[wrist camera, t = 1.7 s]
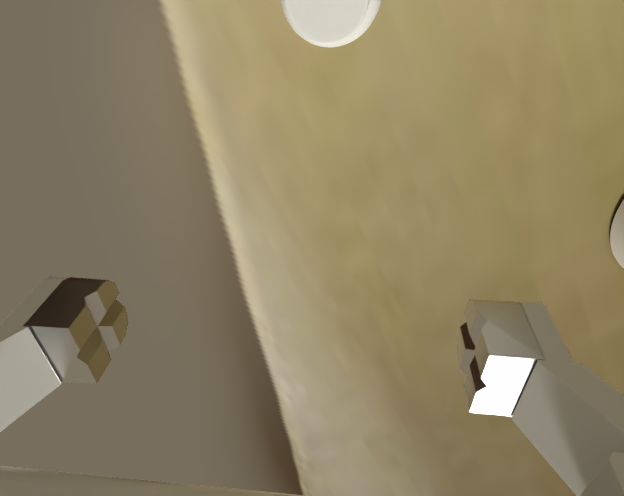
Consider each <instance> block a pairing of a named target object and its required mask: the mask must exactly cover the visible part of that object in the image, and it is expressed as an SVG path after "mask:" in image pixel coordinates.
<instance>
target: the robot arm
mask: <svg viewBox="0 0 624 496" xmlns="http://www.w3.org/2000/svg"><path fill="white" fill-rule="evenodd" d="M610 243H611V249H612V252H613V254H614V257H615V258H616V260H617V262H618V263H619V264H620V265H621V266H622V267H623V268H624V200H623V201H622V203H621V205H620V206H619V208H618V210H617V212H616V214H615V217H614V220H613V223H612V227H611V233H610ZM118 294H119V291H118V289H117V287H116V284H115V282H112V281H109V280H101V279H88V278H75V277H69V278H68V277H57V276H49V277H46V278H44V279H42V280H41V281H40V282H39V284H38V285H37V286H36V287H35V288H34V289H33V290H32V291H31V292H30V293H29V294H28V295H27V296H26V297H25V298H24V299H23V301H21V303H20V304H19V305H18V306H17V307H16V308H15V309H14V310H13V311H12V312H11V313H10V314H9V315H8V316H7V318H5V320H4V321H3V322H2V323H1V324H0V432H1V431H2V430H3V429H4V428H6V427H7V426H8V425H10V424H11V423H12V422H13V421H15V420H16V419H17V418H19V417H20V416H21V415H22V414H24V413H25V412H26V411H27V410H29V409H30V408H31V407H33V405H35V404H36V403H37V402H39V401H40V400H41V399H43V398H44V397H45V396H47V395H48V394H49V393H50V392H52V391H53V390H54V389H55V388H57V387H58V386H59V385H61V382H78V383H79V382H80V383H97V382H98V381H99V379H100V377H101V376H102V374H103V372H104V371H105V369H106V367H107V366H108V364H109V362H110V361H111V358H110V353H109V352H110V351H111V350H113V349H114V348H116V347H117V346H119V345H120V344H121V342H122V340H123V339H124V337H125V335H126V331H127V326H128V317H127V312H126V309H125V307H124V306H123V305H122V304H121V303H120V302H118V301H117V300H116V298H117V296H118ZM464 315H465V319H466V323H464V324H463V325H462V326H460V329H459V333H458V339H457V355H458V361H459V366H460V369H461V370H462V371H463V372H464V373H465V374H466V375H467V376H466V379H465V382H464V389H465V394H466V398H467V402H468V407H469V411H470V412H473V413H482V414H492V415H502V416H511V419H512V420H513V421H514V423H515V424H516V425H517V426H518V427H519V428H520V430H521V431H522V432H523V433H524V434H525V436H526V437H527V438H528V439H529V440H530V441H531V443H532V444H533V445H534V446H535V447H536V448H537V450H538V451H539V452H540V453H541V454H542V456H543V457H544V458H545V459H546V460H547V461H548V463H549V464H550V465H551V466H552V467H553V469H554V470H555V471H556V472H557V473H558V474H559V476H560V477H561V478H562V479H563V480H564V482H565V483H566V484H567V485H568V486H569V487H570V489H571V490H572V491H573V492H574V493H575V495H576V496H624V394H622V393H621V392H620V391H618V390H617V389H616V388H614V387H613V386H612V385H610V384H609V383H608V382H606V381H605V380H604V379H602V378H601V377H600V376H598V375H597V374H596V373H594V372H593V371H592V370H590V369H589V368H588V367H587V366H585V365H584V364H583V363H574V361H573V359H572V357H571V355H570V353H569V351H568V349H567V347H566V345H565V343H564V341H563V339H562V337H561V335H560V333H559V331H558V329H557V327H556V325H555V323H554V321H553V319H552V317H551V315H550V313H549V311H548V309H547V307H546V305H544V304H543V303H542V302H522V301H517V302H514V301H493V300H472V299H469V301H468V302H467V304H466V307H465V310H464ZM0 496H304V495H293V494H283V493H273V492H263V491H252V490H242V489H232V488H222V487H211V486H200V485H191V484H180V483H170V482H159V481H149V480H139V479H129V478H118V477H108V476H97V475H88V474H77V473H67V472H57V471H47V470H36V469H26V468H16V467H5V466H0Z"/></svg>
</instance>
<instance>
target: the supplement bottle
mask: <svg viewBox="0 0 624 496" xmlns="http://www.w3.org/2000/svg"><path fill="white" fill-rule="evenodd" d="M280 2H281V6H282V9H283V12H284V14H285V17H286V19H287V21H288V22H289V24H290V25H291V27H292V28H293V29H294V31H295V32H296V33H297V34H298V35H299V36H300V37H302V38H303V39H305V40H306V41H308V42H310V43H312V44H314V45H317V46H321V47H338V46H343V45H345V44H348V43H350V42H352V41H354V40H355V39H357V38H358V37H360V36H361V35H362V34H363V33H364V32H365V31H366V30H367V29H368V27H369V26H370V25H371V23H372V22H373V20H374V18H375V16H376V14H377V12H378V10H379V7H380V4H381V0H280Z"/></svg>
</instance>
